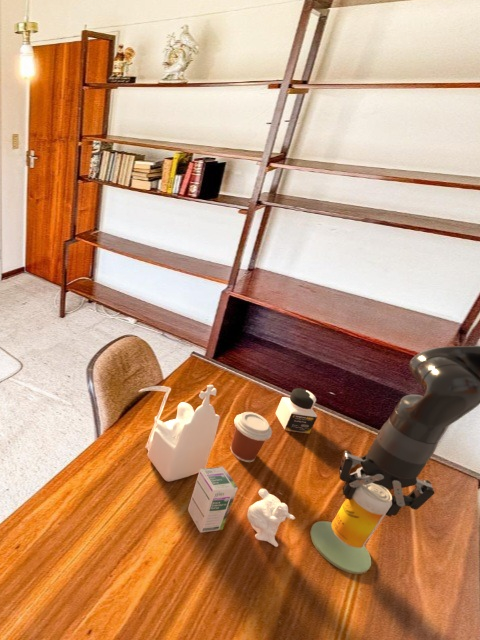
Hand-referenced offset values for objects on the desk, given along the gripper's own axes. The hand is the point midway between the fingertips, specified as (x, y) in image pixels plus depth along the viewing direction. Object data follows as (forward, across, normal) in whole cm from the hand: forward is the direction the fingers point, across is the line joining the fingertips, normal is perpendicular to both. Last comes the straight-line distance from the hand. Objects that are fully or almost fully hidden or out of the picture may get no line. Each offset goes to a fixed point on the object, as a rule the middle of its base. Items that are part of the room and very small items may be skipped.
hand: (366, 504), depth 82 cm
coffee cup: (+15, -21, +17) cm, 31 cm away
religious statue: (+15, -39, +2) cm, 42 cm away
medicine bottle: (+15, -9, +38) cm, 42 cm away
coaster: (+15, 0, 0) cm, 15 cm away
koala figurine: (+15, -15, -6) cm, 22 cm away
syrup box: (+15, -27, -10) cm, 33 cm away
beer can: (+11, 0, 0) cm, 11 cm away
